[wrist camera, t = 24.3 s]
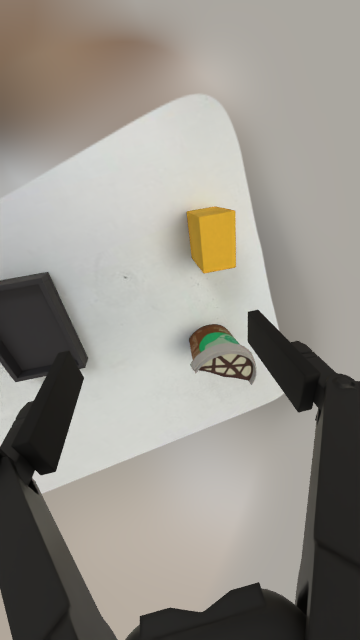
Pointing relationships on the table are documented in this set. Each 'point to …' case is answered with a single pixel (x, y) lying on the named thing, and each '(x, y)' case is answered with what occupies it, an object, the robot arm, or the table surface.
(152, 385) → the table surface
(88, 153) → the table surface
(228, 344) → the food container
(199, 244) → the yellow block
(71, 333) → the black shallow rectangular tray
